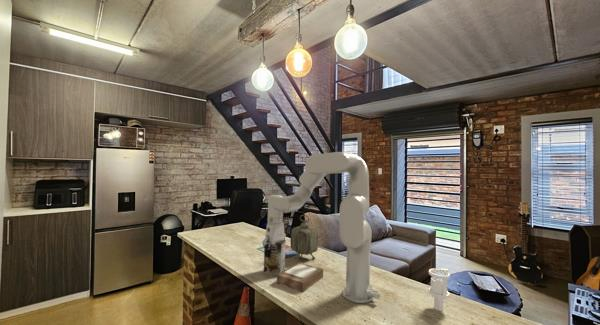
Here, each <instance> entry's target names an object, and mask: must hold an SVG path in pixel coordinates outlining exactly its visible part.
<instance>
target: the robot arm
mask: <svg viewBox="0 0 600 325" xmlns="http://www.w3.org/2000/svg"><path fill="white" fill-rule="evenodd" d="M304 167H305V170H304V171H303V172H302V174H301V175H300V176H299V178H298V181H299V184H300V185H299V187H298V189H297V190H296V191H295V192H294V194H292V195H287V196H283V195H280V194H271V195H269V196H268V199H267V200H268V202H267V223H266V227H265V228H266V229H265V237H264V238H263V240H262V242H261V243H262V247H264V249H265V257H268V258H270V257H271V249H270V248H271V246H272V245H275V244H276V243H277V242H279V241H282V240H286V236H287V234H286V233H285V223H284V214H287V213H291V212H294V211H297V210H300V209H302V207H304V205H305V203H307V201H309V199H310V197H311V196H312V194H313V192H314V189H315V188H316V187H317V186H318V184H320V182H321V181H322V180H323V179H324V177H326V176H327V174H345V173H347V174H348V183H347V187H348V189H347V190H348V191H347V196H345V197H344V198H343V199H342V200H341V202H340V204H339V238H340V241H341V242H342V244H343V245H344V246H345V247H346V263H345V264H346V267H345V268H346V270H345V271H346V272H345V273H346V276H345V287H344V288H343V289H342V292H341V294H342V295H341V296H342V297H343V298H344V299H345V300H347V301H349V302H351V303H354V304H355V303H356V304H367V303H370V302H372V301H373V299H377V300H380V296H381V295H380V293H379V291H378V290H374V289H373V288H372V285H371V283H370V282H371V281H370V277H371V275H370V273H371V268H370V267H371V247H372V246H371V245H372V239H373V238H372V237H373V236H372V235H373V231H372V228H371V225H370V223H369V222H368V221H367V220H365V218H364V217H365V215H366V214H368V213H369V210H370V173H369V167H368V164H366V162H365V160H364V159H363V158H361V157H360V156H359V155H357V154H355V153H352V152H344V151H335V152H326V153H316V154H311V155H309V157H307V159H306V160H305V163H304ZM269 242H270V243H269ZM268 244H269V246H268Z"/></svg>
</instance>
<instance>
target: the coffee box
mask: <svg viewBox="0 0 600 325" xmlns="http://www.w3.org/2000/svg"><path fill="white" fill-rule="evenodd" d="M286 242H287V241H286V239H285V240H282V241H279V242H277V243H276V244H275V245H272V246H271V248H270V249H271V257H270V258H268V257H265V249H264V252H263V253H264V254H263V256H264V257H263V274H264V275H267V276H268V275H269V276H273V277H275V276H276V277H277V274H279V273H281V272H282V271H284V270H286V269H285V267H286V266H285V265H286V259H285V245H286ZM269 243H270V242H269ZM268 246H269V244H268Z"/></svg>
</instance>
